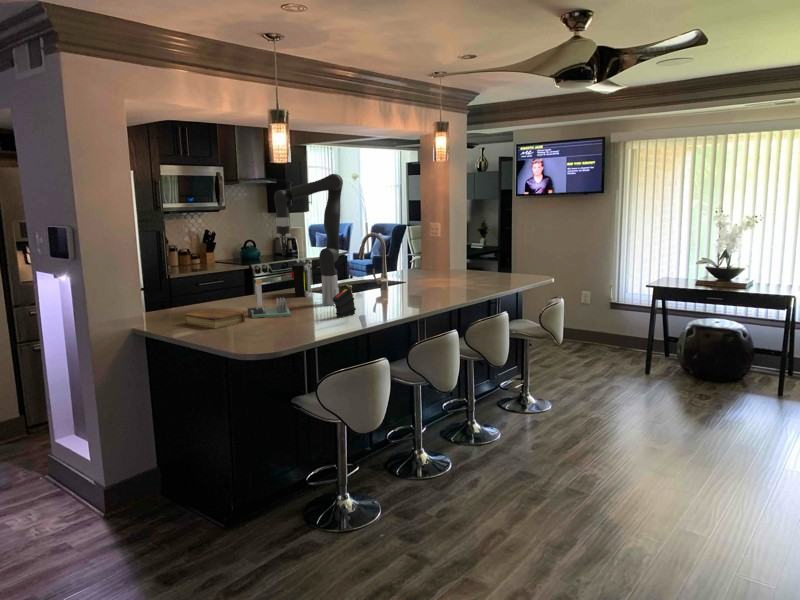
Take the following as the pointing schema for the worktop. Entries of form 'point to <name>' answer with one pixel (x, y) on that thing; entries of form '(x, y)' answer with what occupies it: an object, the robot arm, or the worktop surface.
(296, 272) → the electrical component
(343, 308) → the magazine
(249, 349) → the worktop surface
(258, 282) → the clip lever
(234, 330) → the worktop surface
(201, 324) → the diary
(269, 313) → the board
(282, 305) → the heatsink
